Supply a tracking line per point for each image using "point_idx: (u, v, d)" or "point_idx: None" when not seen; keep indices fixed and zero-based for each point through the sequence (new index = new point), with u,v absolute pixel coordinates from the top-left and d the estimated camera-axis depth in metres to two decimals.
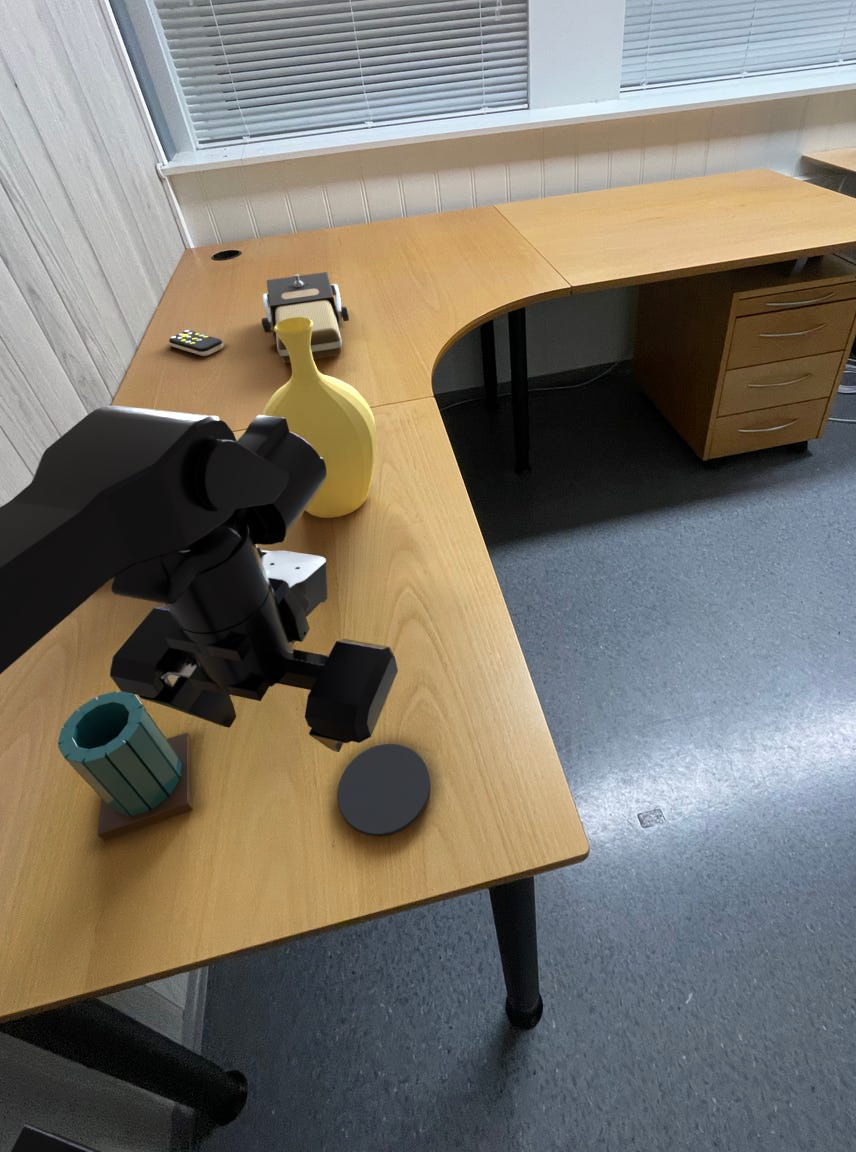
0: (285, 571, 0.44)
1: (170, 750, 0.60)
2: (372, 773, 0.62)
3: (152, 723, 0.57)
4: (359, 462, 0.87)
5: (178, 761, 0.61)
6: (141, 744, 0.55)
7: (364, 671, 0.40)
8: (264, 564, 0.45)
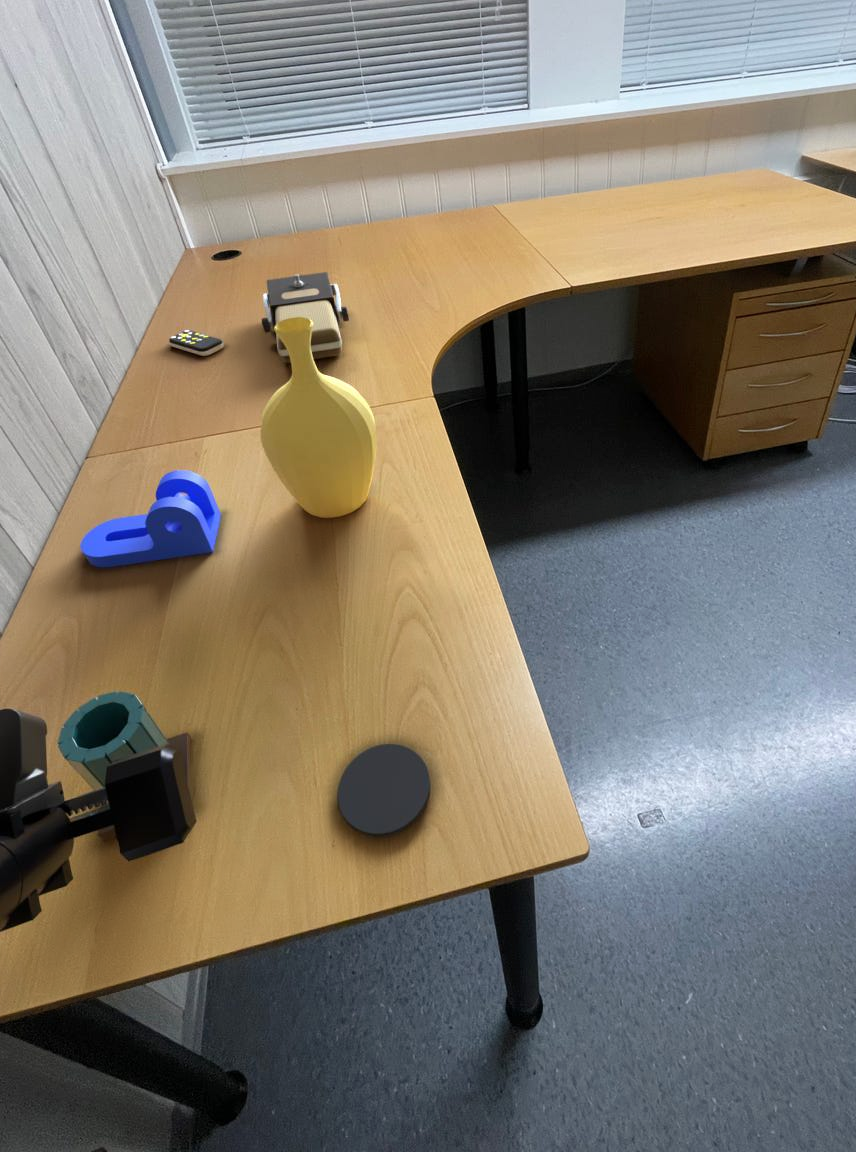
0: None
1: None
2: (372, 773, 0.62)
3: (152, 723, 0.57)
4: (359, 462, 0.87)
5: None
6: (141, 744, 0.55)
7: (158, 799, 0.40)
8: None
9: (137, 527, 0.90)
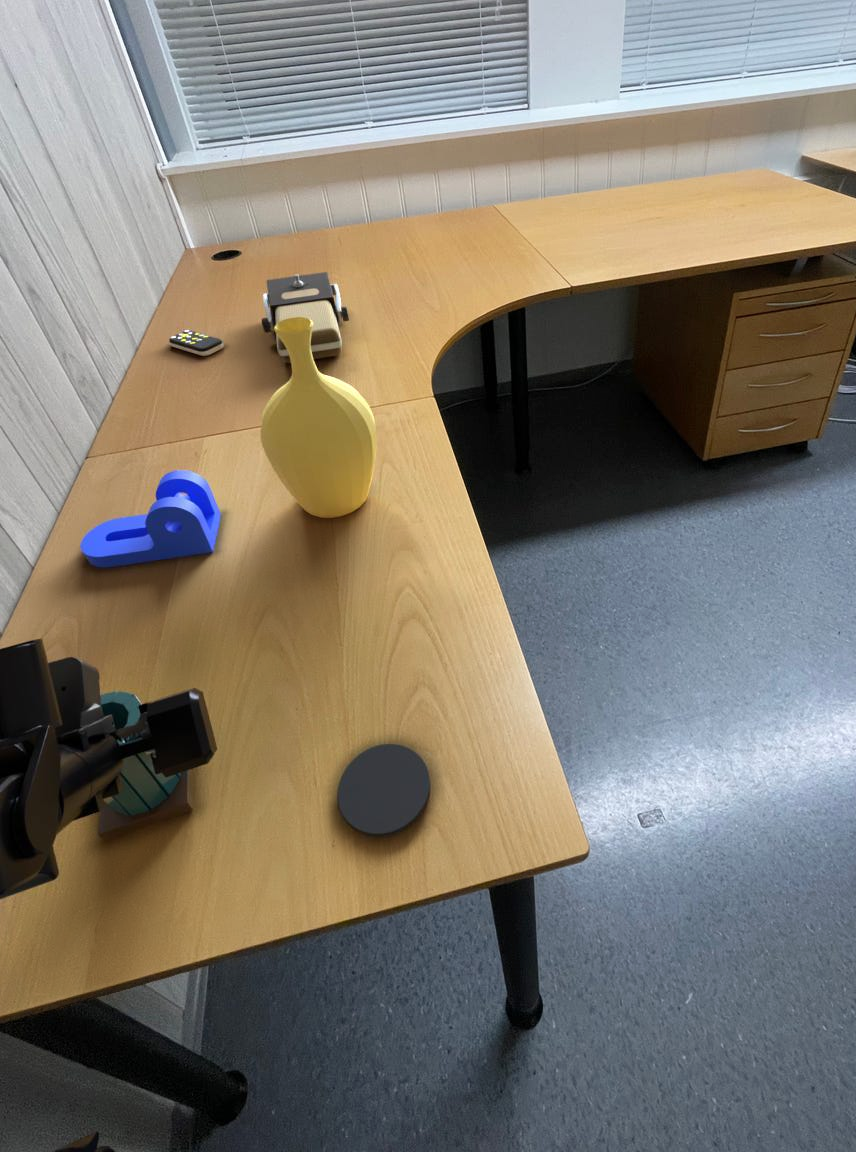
0: (56, 700, 0.47)
1: None
2: (372, 773, 0.62)
3: None
4: (359, 462, 0.87)
5: None
6: None
7: (188, 728, 0.51)
8: None
9: (137, 527, 0.90)
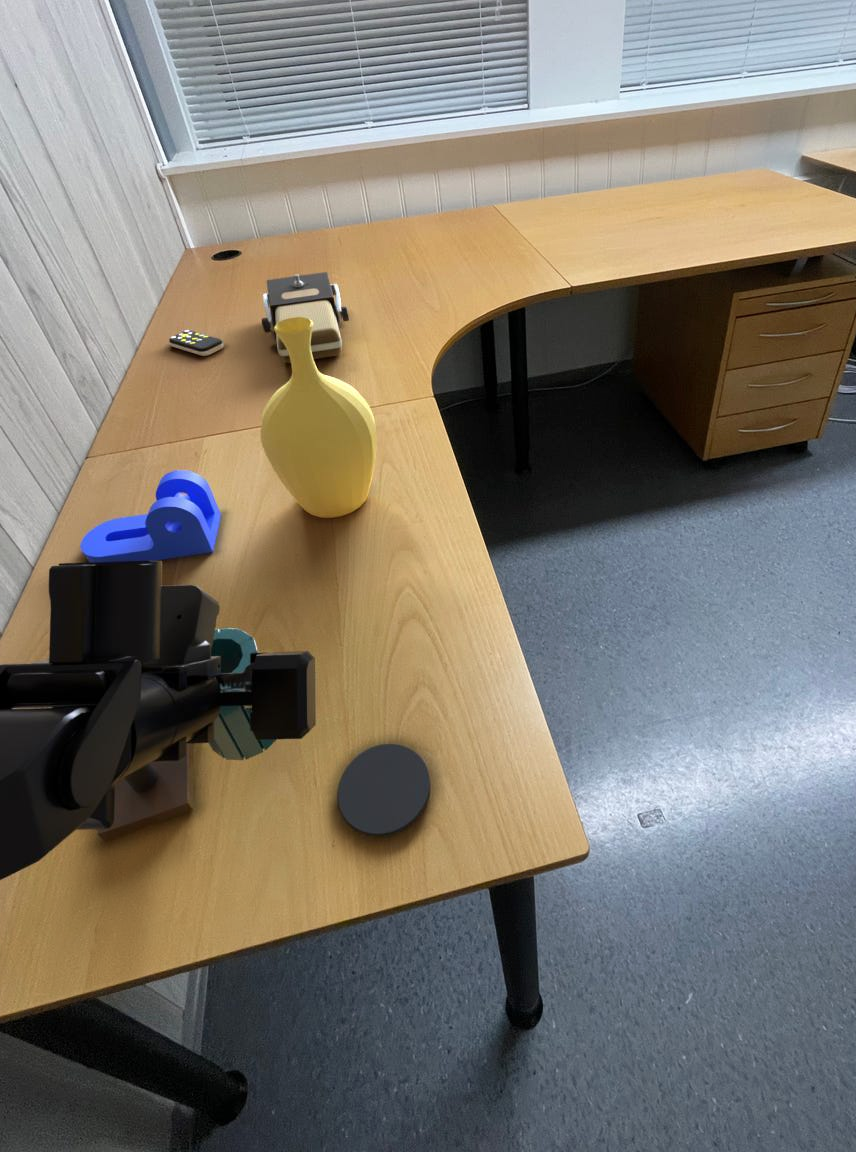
0: (169, 627, 0.44)
1: None
2: (372, 773, 0.62)
3: None
4: (359, 462, 0.87)
5: None
6: None
7: (289, 695, 0.45)
8: None
9: (137, 527, 0.90)
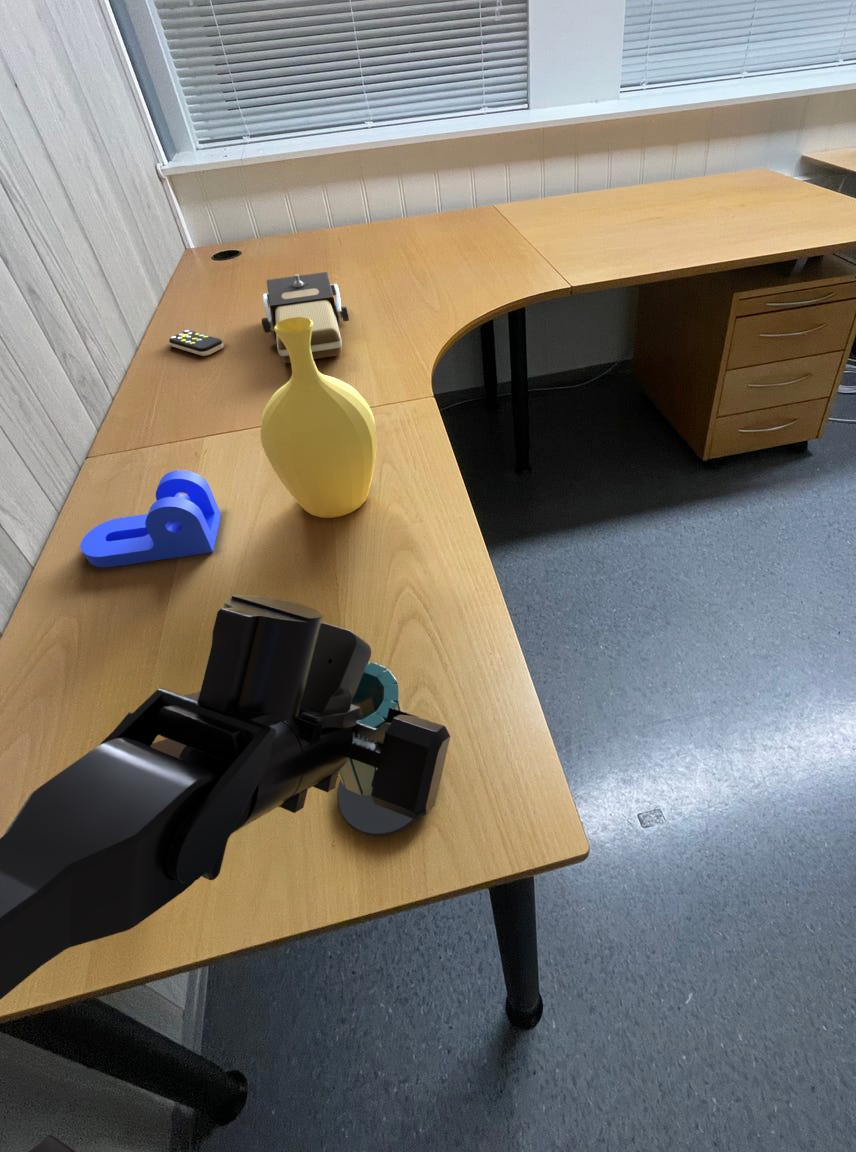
0: (319, 669, 0.43)
1: None
2: None
3: None
4: (359, 462, 0.87)
5: None
6: None
7: (415, 773, 0.42)
8: None
9: (137, 527, 0.90)
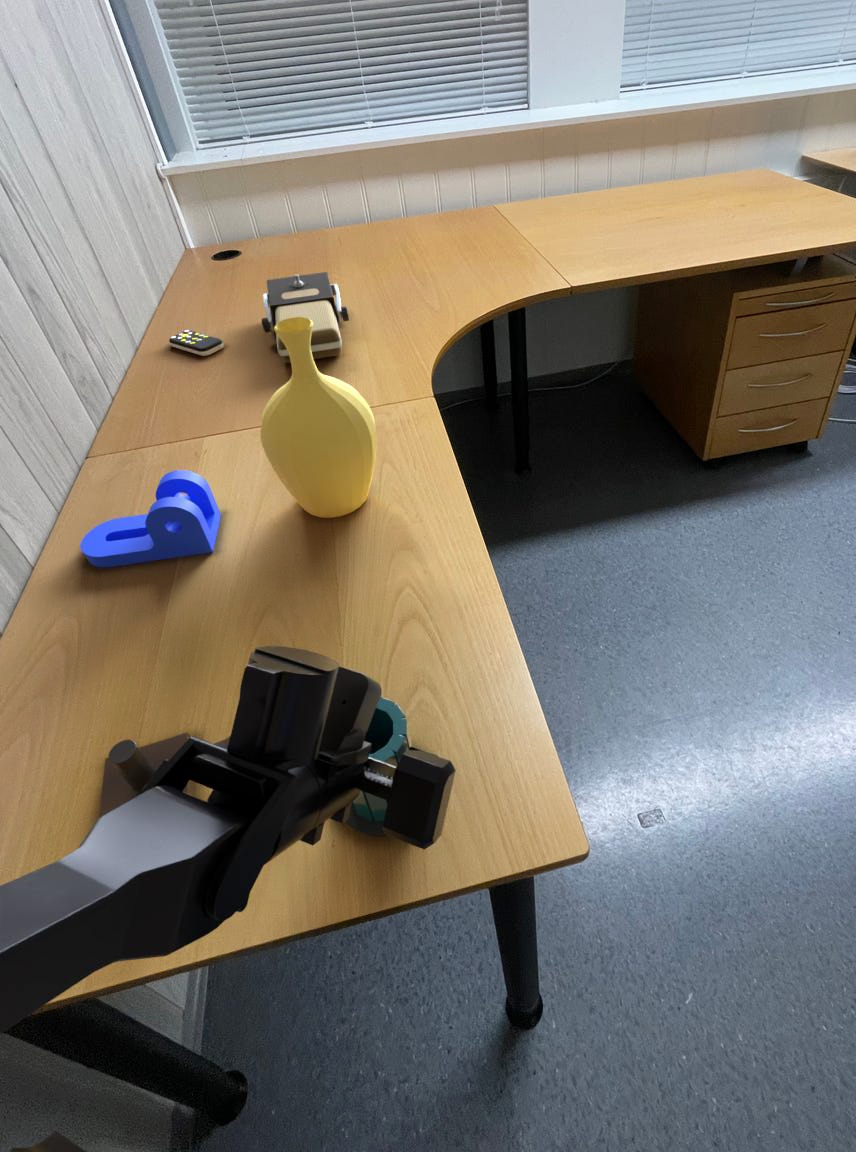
0: (334, 710, 0.46)
1: None
2: None
3: None
4: (359, 462, 0.87)
5: None
6: None
7: (423, 806, 0.46)
8: None
9: (137, 527, 0.90)
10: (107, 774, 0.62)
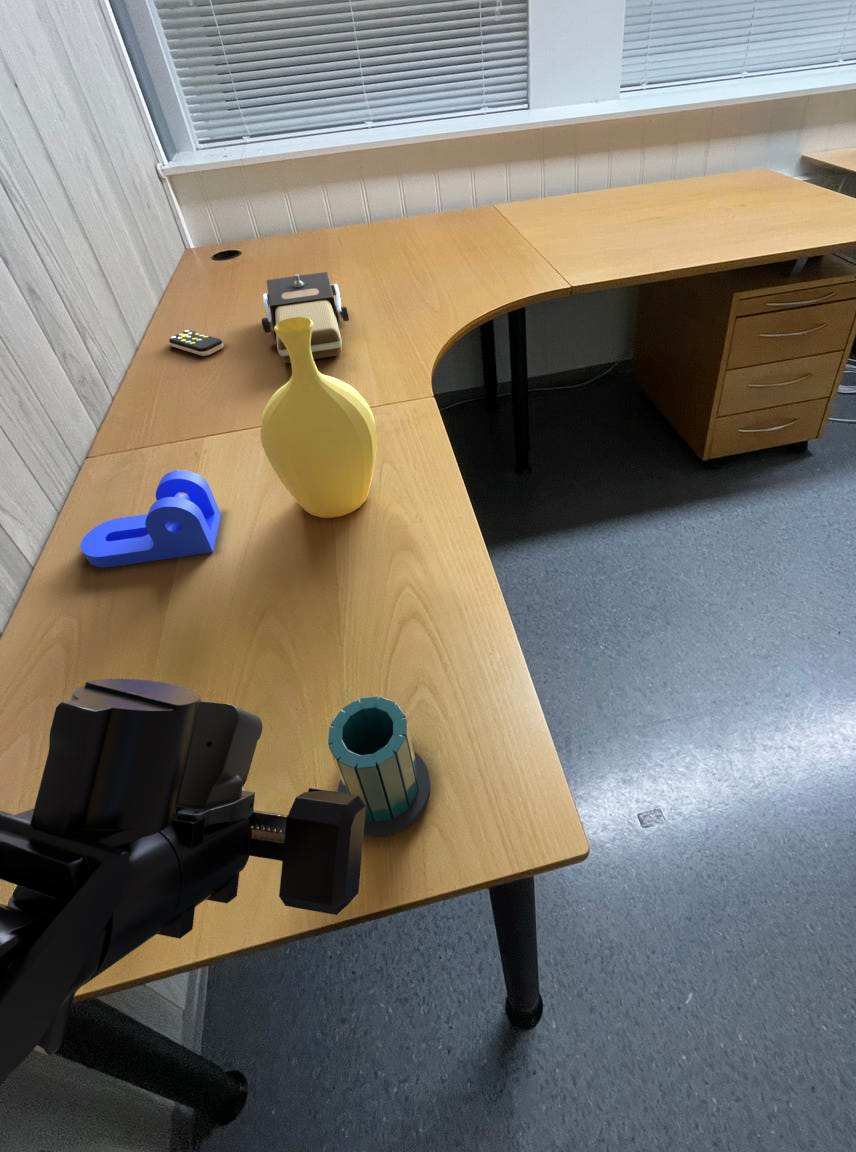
0: (197, 756, 0.36)
1: (412, 779, 0.58)
2: None
3: (407, 753, 0.55)
4: (359, 462, 0.87)
5: (415, 790, 0.59)
6: (388, 771, 0.53)
7: (326, 858, 0.36)
8: None
9: (137, 527, 0.90)
10: None
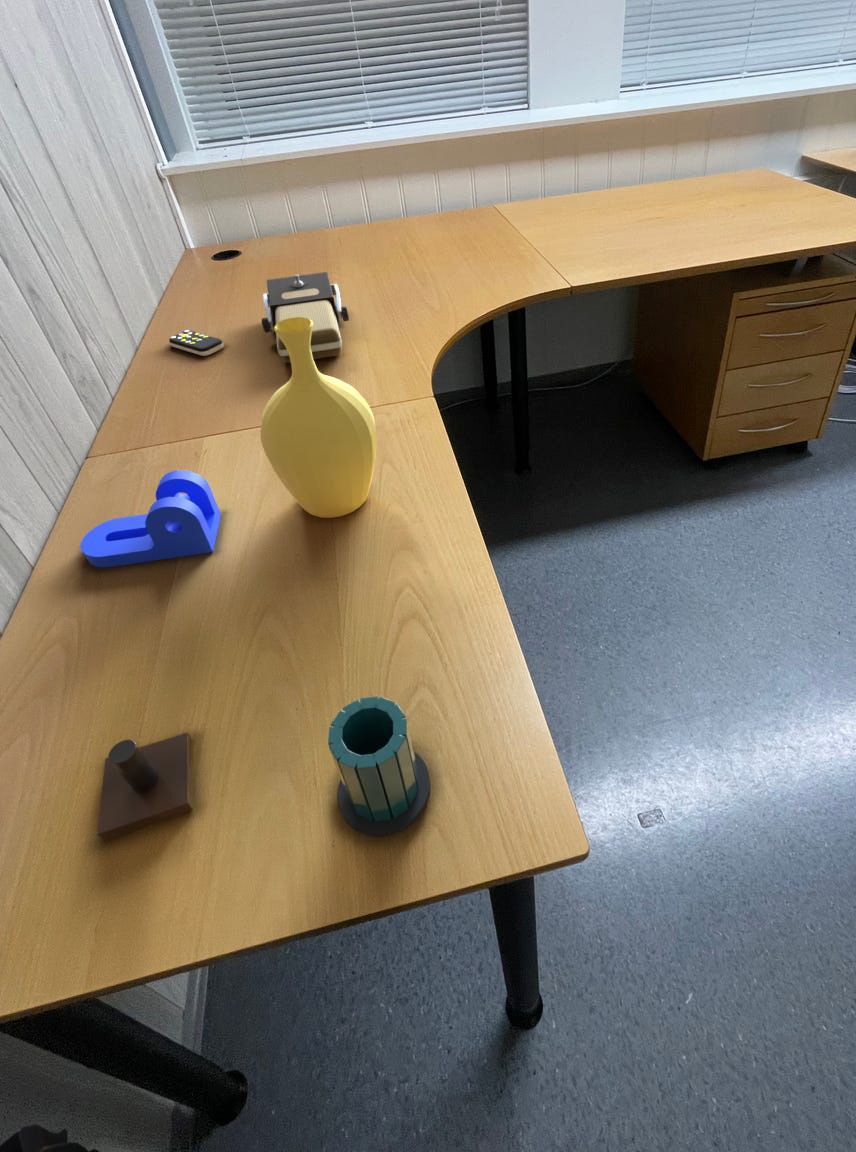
0: None
1: (412, 779, 0.58)
2: None
3: (407, 753, 0.55)
4: (359, 462, 0.87)
5: (415, 790, 0.59)
6: (388, 771, 0.53)
7: None
8: None
9: (137, 527, 0.90)
10: (107, 774, 0.62)
